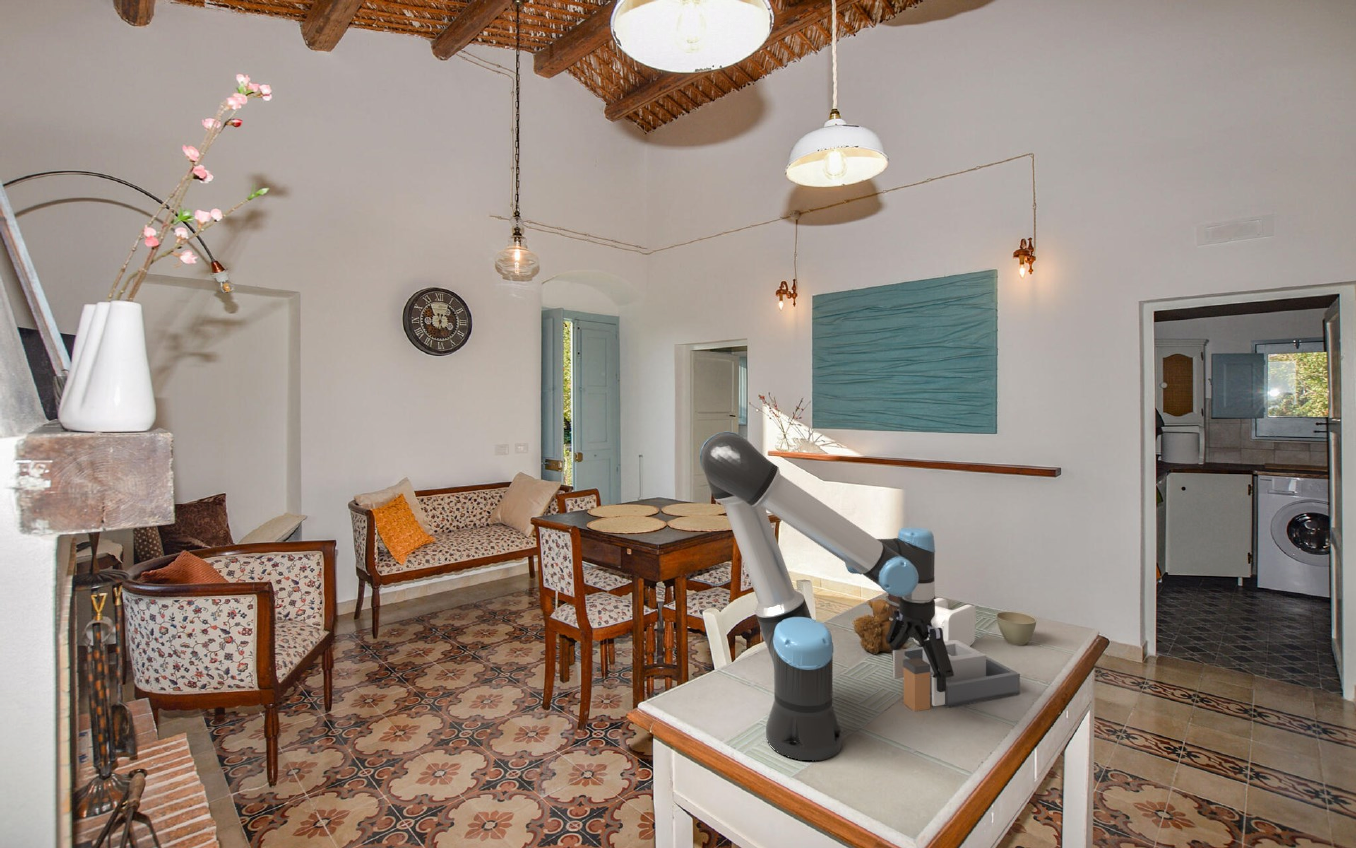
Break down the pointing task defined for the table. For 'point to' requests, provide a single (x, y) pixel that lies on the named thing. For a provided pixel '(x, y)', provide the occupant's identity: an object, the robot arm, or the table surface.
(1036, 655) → the table surface
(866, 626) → the stuffed squirrel
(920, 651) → the box
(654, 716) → the table surface
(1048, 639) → the table surface
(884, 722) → the table surface
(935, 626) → the cable organizer
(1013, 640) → the beige bowl
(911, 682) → the plug
